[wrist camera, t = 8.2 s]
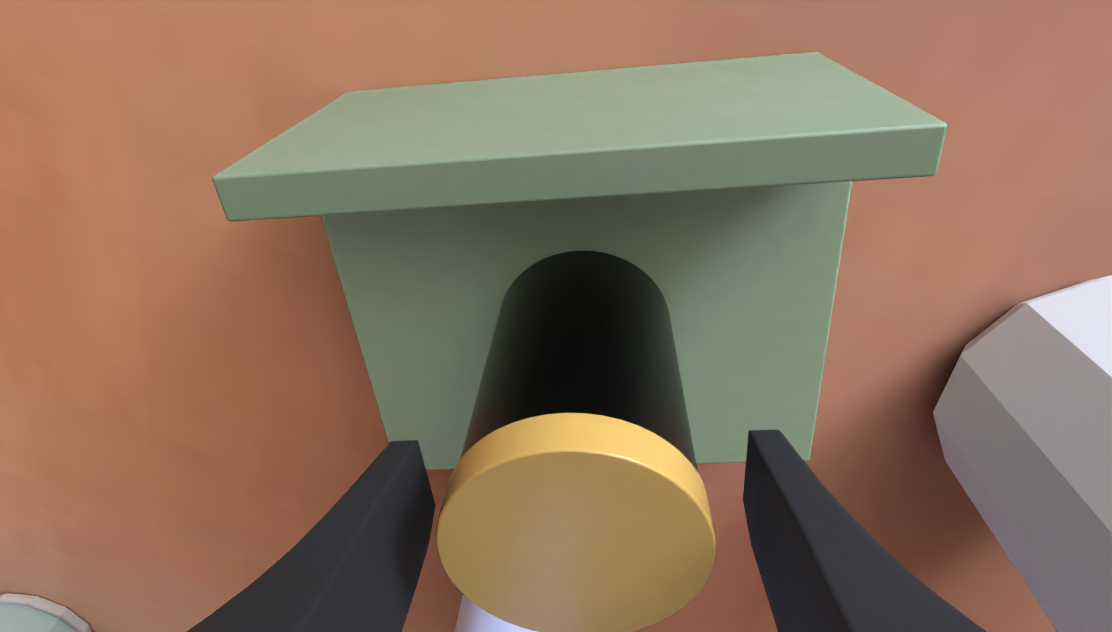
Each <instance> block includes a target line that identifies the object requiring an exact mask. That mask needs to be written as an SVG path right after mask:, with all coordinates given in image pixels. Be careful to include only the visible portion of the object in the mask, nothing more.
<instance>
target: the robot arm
mask: <svg viewBox="0 0 1112 632" xmlns="http://www.w3.org/2000/svg"><path fill="white" fill-rule="evenodd" d="M743 502H744V508H745V513H746V519H747V524H748V530H749V535H750V540H751V545H752V548H753V552H754V555H755V558H756V562H757V565H758V568H759V571H760V575H761V578H762V581H763V584H764V588H765V591H766V594H767V597H768V601H769V604H770V607H771V610H772V613H773V617H774V620H775V623H776V626H777V629H778V632H986V631H985V630H984V629H982V628H981V627H979V626H978V625H977V624H975V623H974V622H973V621H971V620H970V619H969V618H967V617H966V616H965V615H963V614H962V613H961V612H959V611H958V610H957V609H955V608H954V607H953V606H951V605H950V604H949V603H947V602H946V601H945V600H943V599H942V598H941V597H939V596H938V595H937V594H936V593H934V592H933V591H932V590H931V589H930V588H928V587H927V586H926V585H925V584H924V583H922V582H921V581H920V580H919V579H917V578H916V577H915V576H914V575H913V574H912V573H911V572H909V571H908V570H907V569H906V568H905V567H904V566H903V565H902V564H900V563H899V562H898V561H897V560H896V559H895V558H894V557H893V556H892V555H890V554H889V553H888V552H887V551H886V550H885V549H884V548H883V547H882V546H881V545H880V544H879V543H878V542H877V541H876V540H875V539H874V538H873V537H872V536H871V535H870V534H869V533H868V532H867V531H866V530H865V529H864V528H863V527H862V526H861V525H860V524H859V523H858V522H857V521H856V520H855V519H854V518H853V517H852V516H851V515H850V514H849V513H848V512H847V511H846V509H845V508H844V507H843V506H842V505H841V504H840V503H839V502H838V500H837V499H836V498H835V497H834V496H833V495H832V494H831V493H830V492H829V490H828V489H827V488H826V487H825V486H824V485H823V484H822V482H821V481H820V480H819V479H818V478H817V476H816V475H815V474H814V473H813V472H812V470H811V469H810V468H809V467H808V465H807V464H806V463H805V462H804V461H803V459H802V458H801V457H800V455H799V454H798V453H797V452H796V450H795V449H794V448H793V446H792V445H791V444H790V442H789V441H788V440H787V438H786V437H785V436H784V434H783V433H782V432H781V431H779V430H749V432H748V444H747V456H746V469H745V481H744V494H743ZM434 511H435V502H434V498H433V494H432V491H431V487H430V483H429V479H428V476H427V472H426V468H425V464H424V461H423V457H422V453H421V449H420V445H419V442H418V440H406V441H391V442H390V443H389V444H388V446H387V447H386V448H385V449H384V450H383V451H382V452H381V453H380V454H379V456H378V457H377V458H376V459H375V460H374V461H373V462H372V464H371V465H370V466H369V467H368V468H367V469H366V471H365V472H364V473H363V474H362V475H361V476H360V477H359V479H358V480H357V481H356V482H355V483H354V484H353V485H352V487H351V488H350V489H349V490H348V491H347V492H346V493H345V494H344V495H343V496H342V498H341V499H340V500H339V501H338V502H337V503H336V504H335V505H334V506H333V507H332V508H331V510H330V511H329V512H328V513H327V514H326V515H325V516H324V517H323V518H322V519H321V520H320V521H319V522H318V523H317V524H316V525H315V526H314V527H313V528H312V529H311V530H310V531H309V532H308V533H307V534H306V535H305V536H304V537H303V538H302V539H301V540H300V541H299V542H298V543H297V544H296V545H295V546H294V547H293V548H292V549H291V550H290V551H289V552H288V553H286V554H285V555H284V556H283V557H282V558H281V559H280V560H279V561H278V562H276V563H275V564H274V565H273V566H272V567H271V568H269V569H268V570H267V571H266V572H265V573H264V574H262V575H261V576H260V577H259V578H258V579H257V580H255V581H254V582H253V583H252V584H250V585H249V586H248V587H247V588H245V589H244V590H243V591H241V592H240V593H239V594H237V595H236V596H235V597H233V598H232V599H231V600H230V601H228V602H227V603H226V604H224V605H223V606H222V607H220V608H219V609H218V610H216V611H215V612H214V613H212V614H211V615H210V616H208V617H207V618H206V619H204V620H203V621H201V622H200V623H198V624H197V625H195V626H194V627H193V628H191V629H190V630H188V631H187V632H402V629H403V626H404V623H405V620H406V617H407V614H408V610H409V607H410V604H411V601H412V598H413V595H414V591H415V588H416V585H417V582H418V579H419V575H420V572H421V569H422V566H423V562H424V559H425V556H426V553H427V549H428V544H429V539H430V534H431V529H432V523H433V517H434ZM455 632H536V631H532V630H529V629H525V628H522V627H519V626H516V625H513V624H511V623H508V622H505V621H503V620H501V619H499V618H497V617H495V616H493V615H491V614H489V613H488V612H486V611H485V610H483V609H481V608H480V607H478V606H477V605H476V604H474V603H473V602H472V601H470V600H469V599H468V598H467V597H466V596H465V595H464V594H463V595H462V600H461V604H460V609H459V614H458V619H457V623H456V628H455ZM632 632H634V631H632Z"/></svg>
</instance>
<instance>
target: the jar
mask: <svg viewBox="0 0 1112 632" xmlns="http://www.w3.org/2000/svg"><path fill="white" fill-rule="evenodd" d="M933 415H934V419H935V423H936V427H937V431H938V435H939V439H940V443H941V447H942V451H943V455H944V459H945V461H946V463H947V464H948V466H949V467H950V469H951V470H952V472H953V473H954V475H955V476H956V478H957V480H958V481H959V483H960V484H961V486H962V487H963V489H964V490H965V492H966V493H967V495H968V496H969V498H970V499H971V501H972V503H973V504H974V506H975V507H976V509H977V510H978V512H979V513H980V515H981V516H982V518H983V519H984V521H985V522H986V524H987V525H988V527H989V529H990V530H991V532H992V533H993V535H994V536H995V538H996V539H997V541H998V542H999V544H1000V545H1001V547H1002V548H1003V550H1004V552H1005V553H1006V555H1007V556H1008V558H1009V559H1010V561H1011V562H1012V564H1013V565H1014V567H1015V568H1016V570H1017V571H1018V573H1019V574H1020V576H1021V578H1022V579H1023V581H1024V582H1025V584H1026V585H1027V587H1028V588H1029V590H1030V591H1031V593H1032V594H1033V596H1034V597H1035V599H1036V601H1037V602H1038V604H1039V605H1040V607H1041V608H1042V610H1043V611H1044V613H1045V614H1046V616H1047V617H1048V619H1049V620H1050V622H1051V623H1052V625H1053V627H1054V628H1055V630H1056V631H1057V632H1112V275H1111V276H1107V277H1102V278H1098V279H1094V280H1089V281H1085V282H1082V283H1079V284H1076V285H1073V286H1070V287H1067V288H1064V289H1061V290H1058V291H1055V292H1052V293H1049V294H1046V295H1042V296H1039V297H1036V298H1033V299H1030V300H1027V301H1024V302H1021V303H1018V304H1017V305H1015V306H1014V307H1013V308H1012V309H1010V310H1009V311H1008V312H1006V313H1005V314H1004V315H1003V316H1001V317H1000V318H999V319H998V320H996V321H995V322H994V323H993V324H991V325H990V326H989V327H988V328H986V329H985V330H984V331H983V332H981V333H980V334H979V335H977V336H976V337H975V338H974V339H972V340H971V341H970V342H969V343H967V344H966V345H965V347H964V349H963V351H962V353H961V355H960V357H959V360H958V362H957V364H956V366H955V368H954V370H953V372H952V374H951V376H950V378H949V380H948V382H947V384H946V386H945V388H944V391H943V393H942V395H941V397H940V399H939V401H938V403H937V405H936V407H935V409H934V411H933Z"/></svg>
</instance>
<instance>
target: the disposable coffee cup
mask: <svg viewBox="0 0 1112 632" xmlns="http://www.w3.org/2000/svg"><path fill="white" fill-rule="evenodd" d="M0 632H92V631H91V628H90V626H89V624H87V623H86V622H85V621H84V620H82V619H81V618H80V617H78V616H77V615H76V614H75V613H73V612H72V611H71V610H69V609H68V608H67V607H64V606H62V605H59V604H56V603H54V602H51V601H49V600H46V599H43V598H41V597H38V596H33V595H22V594H11V593H5V594H3V595H0Z"/></svg>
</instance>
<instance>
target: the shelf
mask: <svg viewBox="0 0 1112 632" xmlns="http://www.w3.org/2000/svg"><path fill="white" fill-rule="evenodd" d="M946 130H947V124H946V123H945V122H943V121H941V120H939V119H938V118H936V117H934V116H932V115H930V114H928V113H927V112H925V111H923V110H921V109H919V108H918V107H916V106H914V105H912V104H910V103H908V102H907V101H905V100H903V99H901V98H899V97H898V96H896V95H894V94H892V93H890V92H889V91H887V90H885V89H883V88H881V87H879V86H878V85H876V84H874V83H872V82H870V81H869V80H867V79H865V78H863V77H861V76H859V75H858V74H856V73H854V72H852V71H850V70H849V69H847V68H845V67H843V66H841V65H839V64H838V63H836V62H834V61H832V60H830V59H829V58H827V57H825V56H823V55H822V54H820V53H819V52H809V53H797V54H785V55H773V56H761V57H750V58H738V59H726V60H714V61H702V62H690V63H679V64H667V65H655V66H643V67H631V68H620V69H608V70H596V71H584V72H572V73H560V74H549V75H537V76H525V77H513V78H501V79H490V80H478V81H466V82H454V83H442V84H430V85H419V86H407V87H395V88H383V89H371V90H360V91H348V92H346V93H344V94H343V95H342V96H340V97H339V98H337V99H336V100H334V101H332V102H331V103H329V104H328V105H326V106H324V107H323V108H321V109H320V110H318V111H316V112H315V113H313V114H312V115H310V116H309V117H307V118H305V119H304V120H302V121H301V122H299V123H297V124H296V125H294V126H293V127H291V128H289V129H288V130H286V131H285V132H283V133H281V134H280V135H278V136H277V137H275V138H273V139H272V140H270V141H269V142H267V143H265V144H264V145H262V146H261V147H259V148H257V149H256V150H254V151H253V152H251V153H249V154H248V155H246V156H245V157H243V158H241V159H240V160H238V161H237V162H235V163H233V164H232V165H230V166H229V167H227V168H226V169H224V170H222V171H221V172H219V173H218V174H216V175H214V176H213V177H212V181H213V183H214V186H215V189H216V191H217V194H218V196H219V199H220V202H221V204H222V207H223V210H224V212H225V215H226V218H227V219H228V221H247V220H262V219H278V218H293V217H309V216H321V218H322V221H323V225H324V228H325V231H326V235H327V238H328V241H329V245H330V248H331V251H332V255H333V258H334V262H335V265H336V268H337V272H338V275H339V278H340V282H341V285H342V288H343V292H344V295H345V298H346V302H347V305H348V308H349V312H350V315H351V318H352V322H353V325H354V329H355V332H356V335H357V339H358V342H359V345H360V349H361V352H362V355H363V359H364V362H365V365H366V369H367V372H368V375H369V379H370V382H371V386H372V389H373V392H374V396H375V399H376V402H377V406H378V409H379V412H380V416H381V419H382V422H383V426H384V429H385V432H386V436H387V439H388V443H390V442H391V441H406V440H418V442H419V445H420V449H421V453H422V457H423V461H424V464H425V468H426V470H435V469H454V468H455V467H456V465H457V464H458V462H459V461H460V458H461V454H462V450H463V446H464V443H465V439H466V435H467V431H468V428H469V424H470V420H471V417H472V413H473V409H474V405H475V402H476V398H477V394H478V390H479V387H480V383H481V379H482V376H483V372H484V368H485V364H486V361H487V357H488V353H489V349H490V346H491V342H492V338H493V334H494V331H495V327H496V323H497V320H498V316H499V312H500V308H501V305H502V302H503V299H504V297H505V294H506V293H507V291H508V289H509V288H510V286H511V285H512V283H513V282H514V281H515V280H516V278H517V277H518V276H519V275H521V274H522V273H523V272H524V271H525V270H526V269H528V268H529V267H530V266H532V265H533V264H535V263H537V262H539V261H541V260H543V259H545V258H548V257H550V256H553V255H556V254H560V253H564V252H571V251H596V252H603V253H607V254H611V255H614V256H617V257H619V258H622V259H624V260H626V261H628V262H630V263H632V264H634V265H635V266H637V267H638V268H640V269H641V270H642V271H644V272H645V273H646V274H647V275H648V276H649V277H650V278H651V279H652V280H653V281H654V282H655V284H656V285H657V286H658V288H659V289H660V291H661V293H662V294H663V296H664V298H665V301H666V303H667V306H668V310H669V315H670V320H671V326H672V331H673V337H674V342H675V348H676V354H677V359H678V365H679V370H680V376H681V381H682V387H683V393H684V398H685V404H686V409H687V415H688V420H689V426H690V432H691V437H692V443H693V448H694V454H695V459H696V463H736V462H746V456H747V444H748V432H749V430H779V431H781V432H782V433H783V434H784V436H785V437H786V438H787V440H788V441H789V442H790V444H791V445H792V446H793V448H794V449H795V450H796V452H797V453H798V454H799V455H800V457H801V458H802V459H803V461H808V460H810V454H811V447H812V440H813V434H814V427H815V421H816V414H817V408H818V401H819V395H820V388H821V381H822V375H823V368H824V362H825V355H826V349H827V342H828V336H829V329H830V322H831V316H832V309H833V303H834V296H835V290H836V283H837V277H838V270H839V263H840V257H841V250H842V244H843V237H844V231H845V224H846V218H847V211H848V204H849V198H850V191H851V185H852V181H864V180H879V179H895V178H910V177H926V176H934V175H936V173H937V170H938V166H939V161H940V157H941V152H942V148H943V143H944V139H945V134H946Z"/></svg>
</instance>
